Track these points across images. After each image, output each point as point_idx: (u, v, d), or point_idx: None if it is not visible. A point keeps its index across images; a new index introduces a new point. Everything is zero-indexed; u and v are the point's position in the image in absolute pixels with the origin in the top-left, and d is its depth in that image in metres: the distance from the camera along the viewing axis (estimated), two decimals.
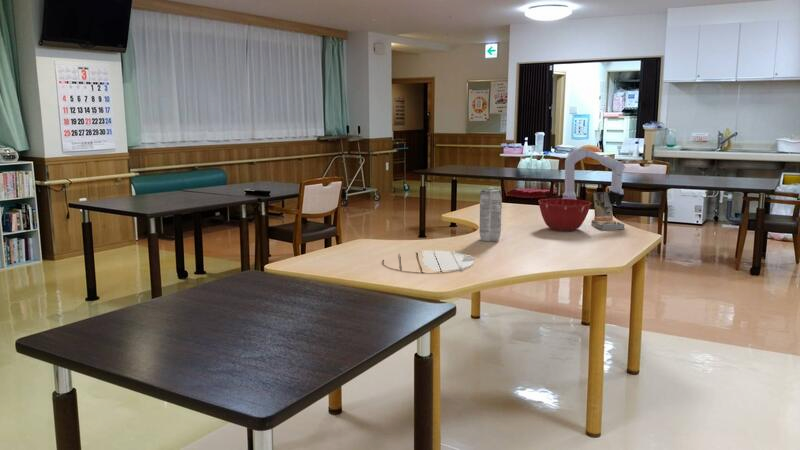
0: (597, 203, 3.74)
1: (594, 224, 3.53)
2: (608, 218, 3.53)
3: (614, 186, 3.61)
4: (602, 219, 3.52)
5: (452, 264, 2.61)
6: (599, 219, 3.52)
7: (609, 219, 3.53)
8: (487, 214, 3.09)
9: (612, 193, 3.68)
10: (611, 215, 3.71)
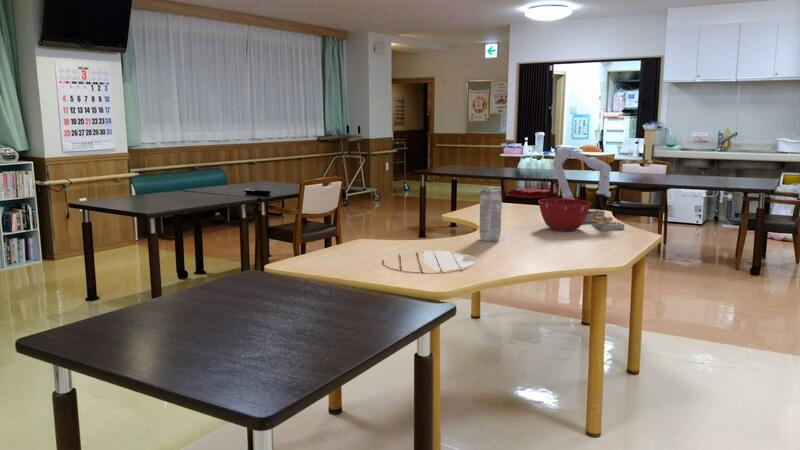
0: None
1: (594, 224, 3.53)
2: (608, 218, 3.53)
3: (601, 188, 3.57)
4: (602, 219, 3.52)
5: (452, 264, 2.61)
6: (599, 219, 3.52)
7: (609, 219, 3.53)
8: (487, 214, 3.09)
9: None
10: (601, 213, 3.67)
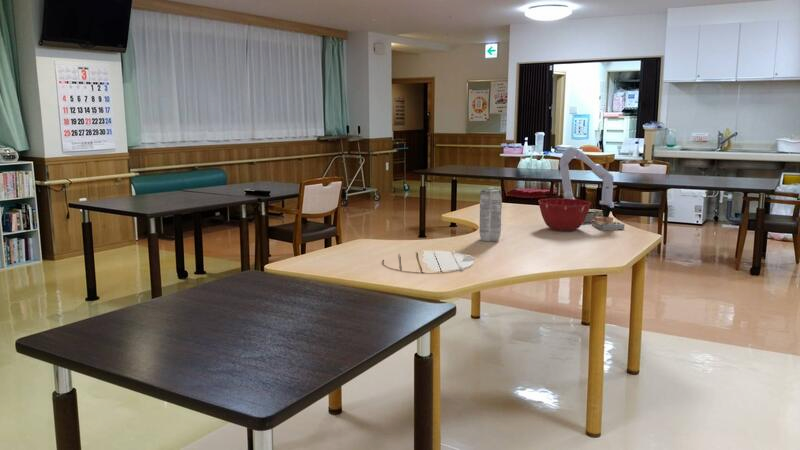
0: None
1: (594, 224, 3.53)
2: (609, 218, 3.52)
3: (604, 199, 3.53)
4: (602, 219, 3.52)
5: (452, 264, 2.61)
6: (599, 219, 3.52)
7: (610, 219, 3.52)
8: (487, 214, 3.09)
9: None
10: (601, 213, 3.67)
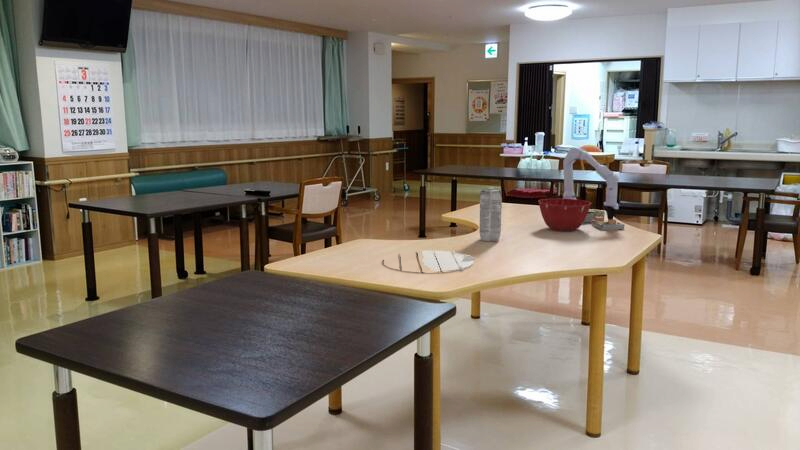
0: None
1: (594, 224, 3.53)
2: None
3: (609, 200, 3.47)
4: (602, 219, 3.52)
5: (452, 264, 2.61)
6: (599, 219, 3.52)
7: None
8: (487, 214, 3.09)
9: None
10: (601, 213, 3.67)
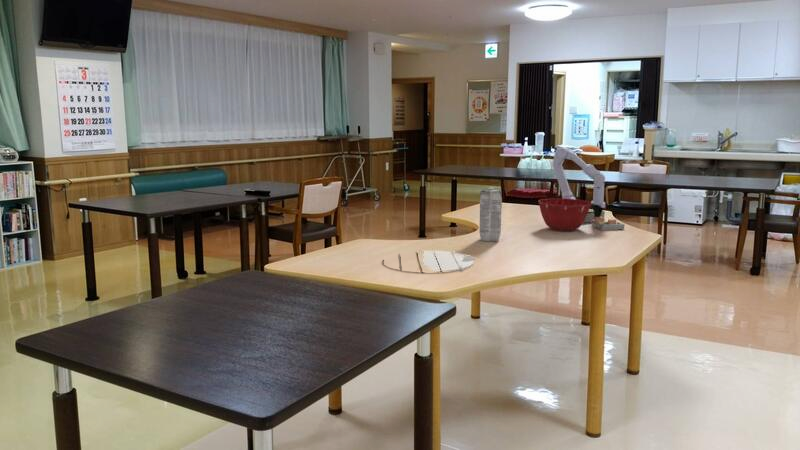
0: None
1: (594, 224, 3.53)
2: None
3: (596, 199, 3.52)
4: (602, 219, 3.52)
5: (452, 264, 2.61)
6: (599, 219, 3.51)
7: None
8: (487, 214, 3.09)
9: None
10: (601, 213, 3.67)
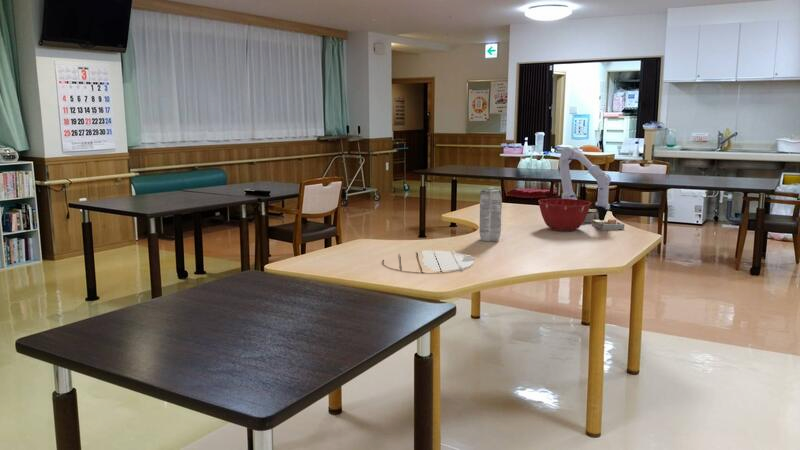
0: None
1: (594, 224, 3.53)
2: None
3: (600, 200, 3.47)
4: None
5: (452, 264, 2.61)
6: None
7: None
8: (487, 214, 3.09)
9: None
10: None
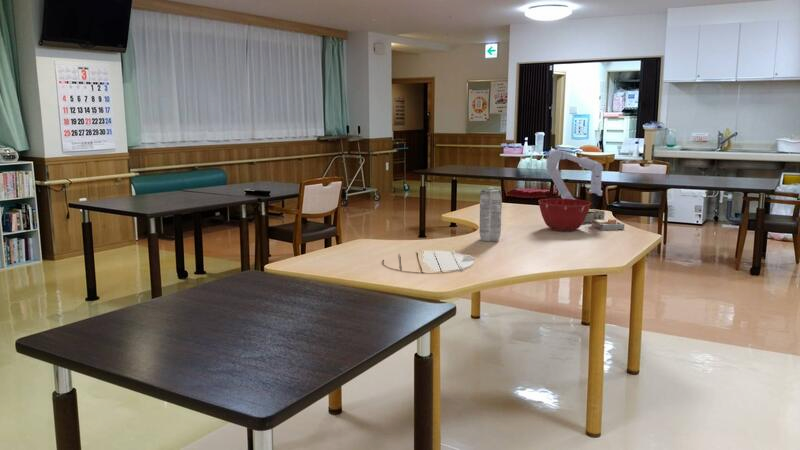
0: None
1: (594, 224, 3.53)
2: None
3: (593, 187, 3.58)
4: None
5: (452, 264, 2.61)
6: None
7: None
8: (487, 214, 3.09)
9: None
10: (601, 213, 3.67)
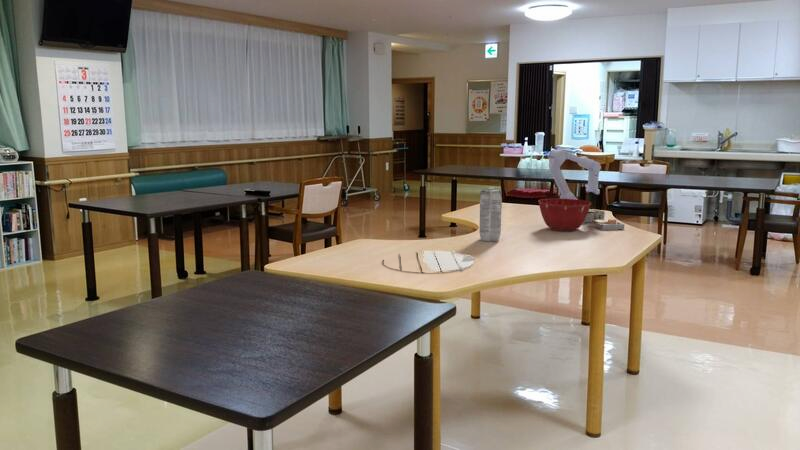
0: None
1: (594, 224, 3.53)
2: None
3: (590, 186, 3.63)
4: None
5: (452, 264, 2.61)
6: None
7: None
8: (487, 214, 3.09)
9: None
10: (601, 213, 3.67)
